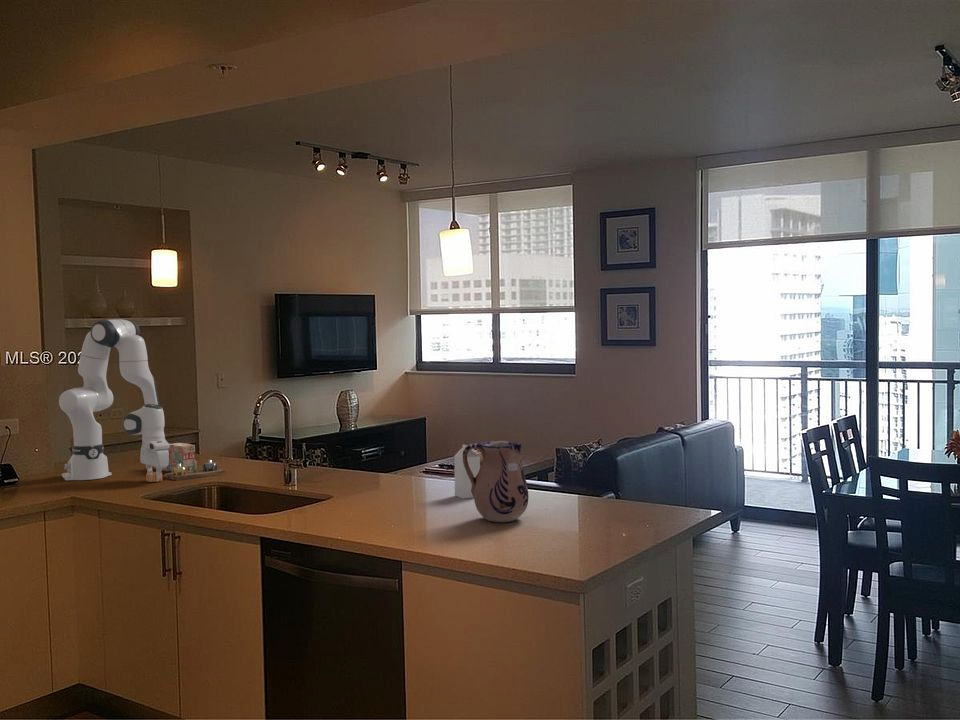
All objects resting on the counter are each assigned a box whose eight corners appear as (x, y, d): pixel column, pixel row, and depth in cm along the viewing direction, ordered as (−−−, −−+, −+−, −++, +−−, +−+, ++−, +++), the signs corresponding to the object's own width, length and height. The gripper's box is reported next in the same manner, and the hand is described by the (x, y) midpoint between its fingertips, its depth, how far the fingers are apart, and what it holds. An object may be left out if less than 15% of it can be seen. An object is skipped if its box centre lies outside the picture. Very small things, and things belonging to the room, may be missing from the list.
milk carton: (463, 499, 308) (462, 447, 307) (454, 495, 314) (454, 445, 314) (480, 497, 311) (479, 445, 311) (471, 494, 318) (471, 443, 317)
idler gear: (143, 480, 352) (143, 473, 352) (158, 478, 357) (158, 471, 357) (149, 482, 348) (149, 475, 348) (164, 480, 352) (164, 473, 352)
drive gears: (168, 474, 361) (168, 463, 360) (213, 468, 375) (213, 458, 374) (175, 476, 356) (175, 465, 356) (220, 470, 370) (220, 459, 370)
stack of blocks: (155, 469, 384) (154, 442, 383) (167, 467, 389) (167, 441, 388) (183, 474, 371) (182, 446, 370) (195, 472, 376) (195, 444, 375)
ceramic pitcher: (532, 525, 266) (531, 446, 265) (465, 527, 264) (464, 447, 263) (524, 513, 283) (524, 438, 282) (462, 515, 282) (461, 440, 281)
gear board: (164, 477, 362) (163, 462, 362) (212, 470, 377) (212, 456, 377) (176, 480, 353) (176, 465, 353) (225, 474, 369) (225, 459, 368)
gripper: (136, 441, 357) (136, 474, 357) (156, 446, 342) (156, 480, 343) (150, 440, 361) (151, 472, 362) (171, 444, 347) (171, 478, 347)
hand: (154, 476), depth 352 cm, fingers closed on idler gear, 6 cm apart
